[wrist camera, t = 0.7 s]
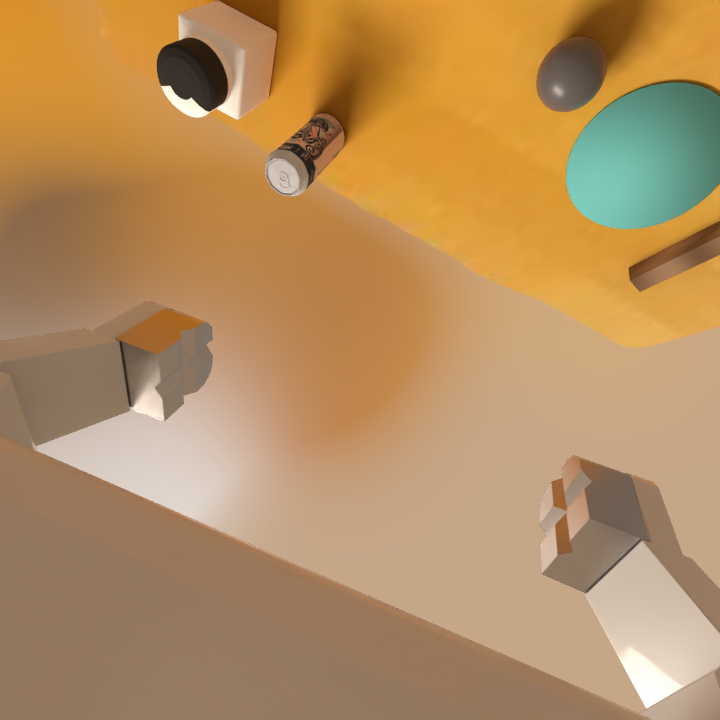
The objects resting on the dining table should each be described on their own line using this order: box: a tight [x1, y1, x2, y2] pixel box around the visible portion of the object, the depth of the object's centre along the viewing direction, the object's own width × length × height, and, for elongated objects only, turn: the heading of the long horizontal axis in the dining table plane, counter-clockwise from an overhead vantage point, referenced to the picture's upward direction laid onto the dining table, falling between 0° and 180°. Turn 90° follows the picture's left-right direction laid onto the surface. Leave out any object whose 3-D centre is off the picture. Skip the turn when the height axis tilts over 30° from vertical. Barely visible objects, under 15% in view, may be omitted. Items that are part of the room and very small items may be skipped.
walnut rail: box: [629, 221, 720, 292], centre depth 45 cm, size 14×2×2 cm, turn 143°
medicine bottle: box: [157, 1, 277, 119], centre depth 44 cm, size 7×7×12 cm
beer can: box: [265, 113, 345, 196], centre depth 47 cm, size 5×5×12 cm
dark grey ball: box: [536, 36, 607, 112], centre depth 37 cm, size 6×6×6 cm
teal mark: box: [566, 82, 720, 229], centre depth 42 cm, size 14×14×1 cm
